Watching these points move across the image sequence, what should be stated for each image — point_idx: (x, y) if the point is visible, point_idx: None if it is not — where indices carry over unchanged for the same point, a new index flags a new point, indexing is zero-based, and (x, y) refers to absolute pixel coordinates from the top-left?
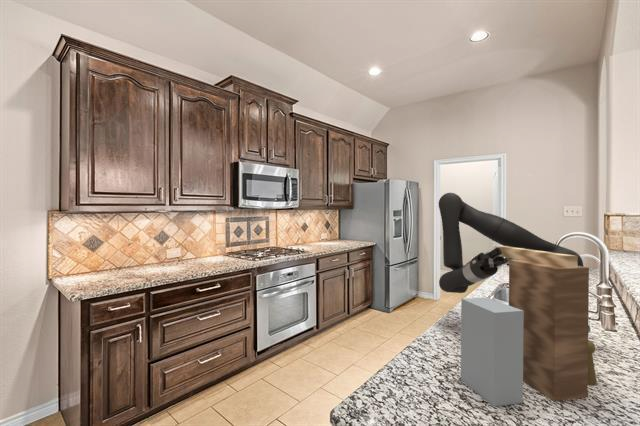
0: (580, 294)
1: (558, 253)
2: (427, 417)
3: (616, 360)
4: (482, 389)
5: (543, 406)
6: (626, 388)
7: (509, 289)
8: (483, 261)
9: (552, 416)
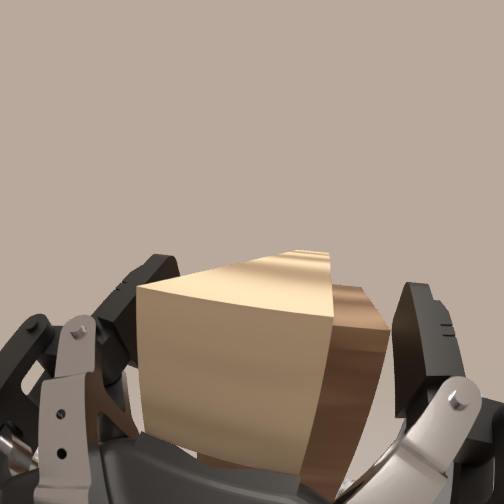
0: None
1: (297, 251)
2: (493, 485)
3: (36, 457)
4: None
5: (336, 498)
6: None
7: (353, 453)
8: (463, 477)
9: (345, 484)
